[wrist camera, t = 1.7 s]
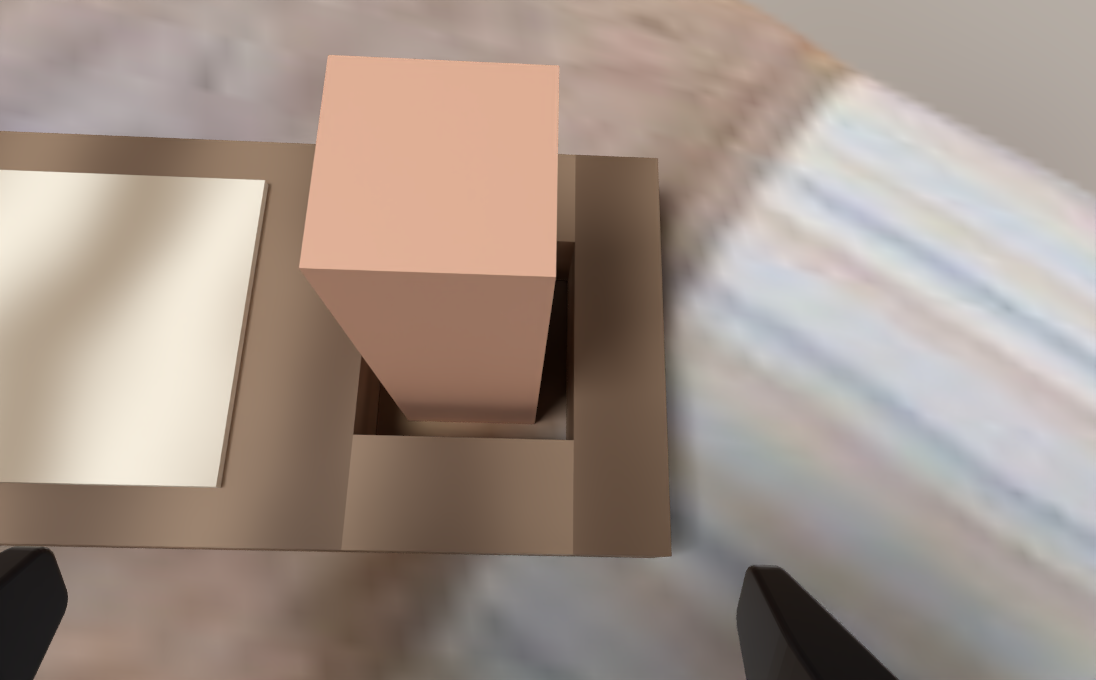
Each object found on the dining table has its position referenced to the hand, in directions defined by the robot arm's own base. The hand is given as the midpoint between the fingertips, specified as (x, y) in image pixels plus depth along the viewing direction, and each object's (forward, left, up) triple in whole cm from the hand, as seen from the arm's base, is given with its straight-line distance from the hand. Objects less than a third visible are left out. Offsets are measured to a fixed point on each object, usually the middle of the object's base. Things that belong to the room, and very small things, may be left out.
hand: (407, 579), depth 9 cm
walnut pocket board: (+8, +3, -12) cm, 15 cm away
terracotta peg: (+6, -2, -12) cm, 14 cm away
